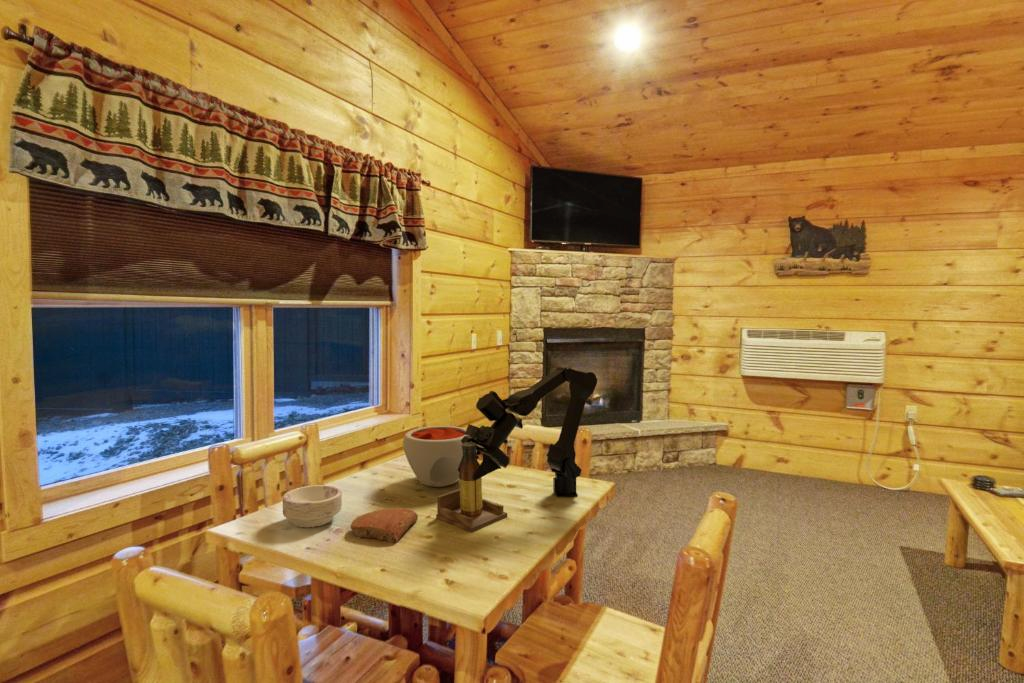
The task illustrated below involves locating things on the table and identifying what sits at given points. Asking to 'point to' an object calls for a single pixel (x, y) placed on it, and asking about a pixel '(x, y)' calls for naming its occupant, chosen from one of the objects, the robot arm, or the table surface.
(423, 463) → the pot
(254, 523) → the table surface
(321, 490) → the beige round bowl
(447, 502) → the brown wooden tray
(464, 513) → the sauce bottle
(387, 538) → the brown rounded slab
